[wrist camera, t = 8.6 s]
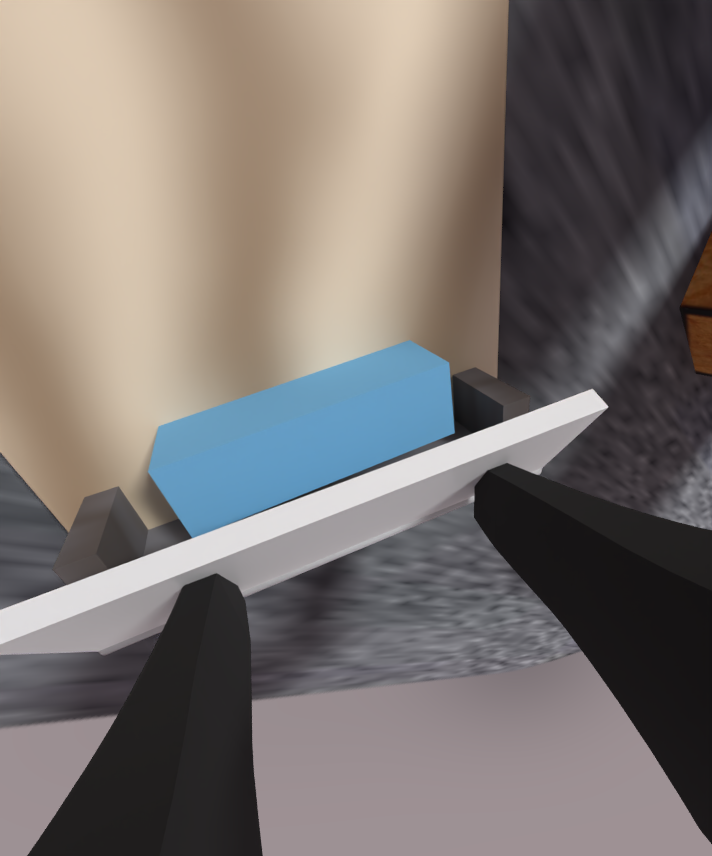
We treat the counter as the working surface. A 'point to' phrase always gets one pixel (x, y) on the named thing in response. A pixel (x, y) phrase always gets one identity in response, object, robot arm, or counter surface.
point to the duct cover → (288, 536)
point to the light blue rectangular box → (301, 435)
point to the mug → (700, 313)
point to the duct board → (233, 226)
